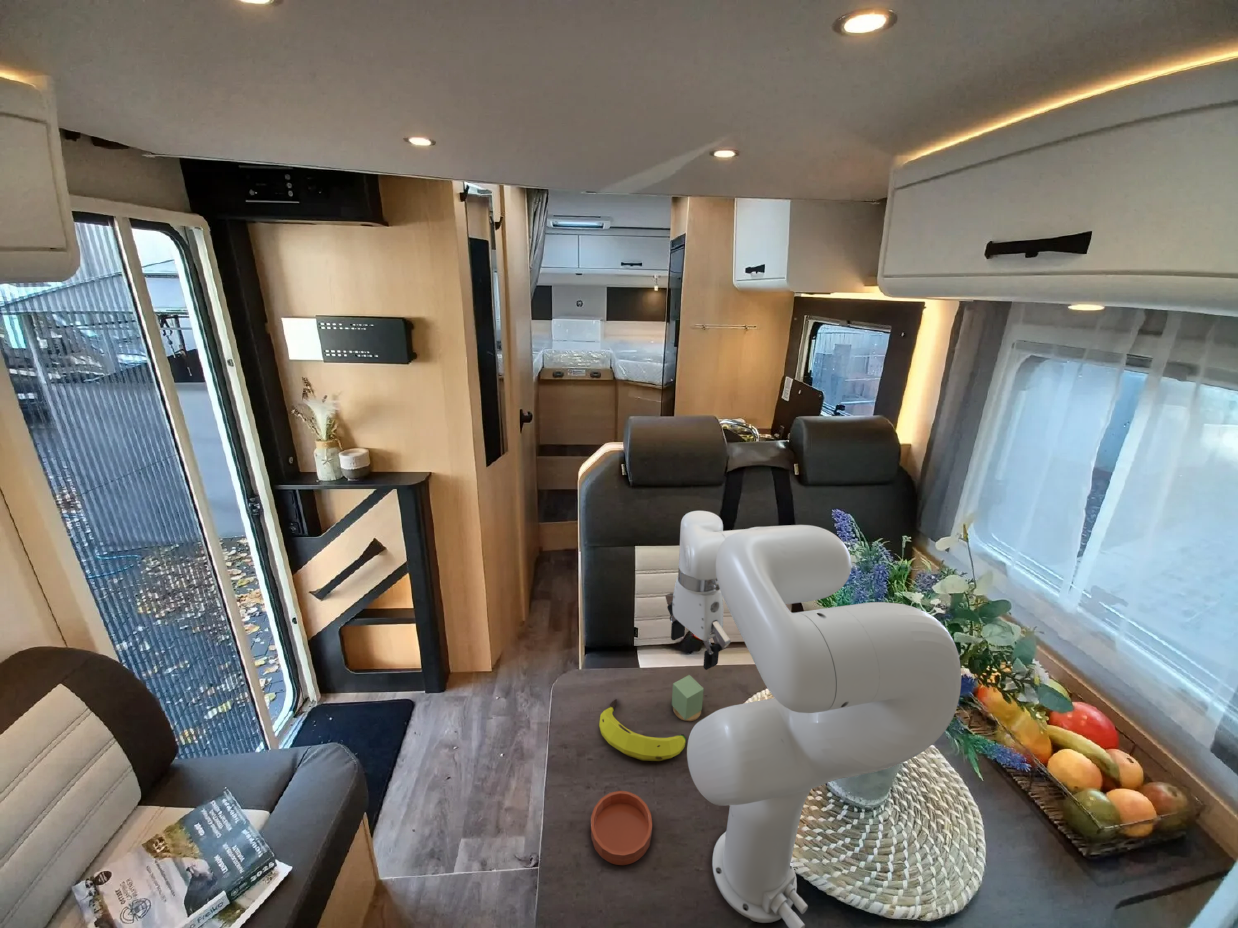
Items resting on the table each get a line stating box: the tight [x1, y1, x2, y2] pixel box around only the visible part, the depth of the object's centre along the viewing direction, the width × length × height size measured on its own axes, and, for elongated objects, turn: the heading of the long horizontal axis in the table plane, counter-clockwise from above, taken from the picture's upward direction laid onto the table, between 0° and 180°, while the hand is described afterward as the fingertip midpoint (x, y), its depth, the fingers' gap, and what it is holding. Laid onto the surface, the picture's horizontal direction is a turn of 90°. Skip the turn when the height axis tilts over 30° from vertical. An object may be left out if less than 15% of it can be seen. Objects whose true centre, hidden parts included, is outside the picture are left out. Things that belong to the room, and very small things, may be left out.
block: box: [671, 674, 705, 720], centre depth 102 cm, size 5×5×6 cm
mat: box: [672, 706, 702, 722], centre depth 103 cm, size 6×6×1 cm
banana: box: [598, 699, 687, 762], centre depth 97 cm, size 5×17×15 cm
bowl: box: [590, 790, 653, 866], centre depth 80 cm, size 10×10×3 cm
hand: (693, 651), depth 95 cm, fingers open, 9 cm apart
